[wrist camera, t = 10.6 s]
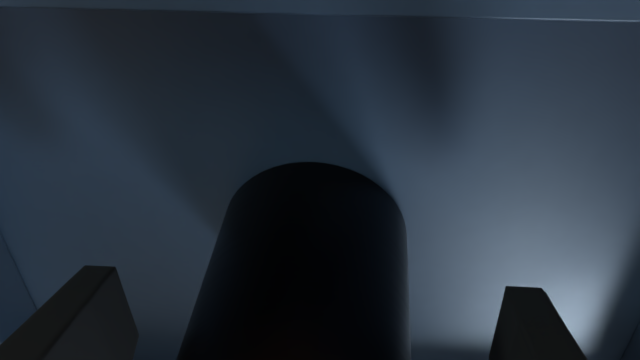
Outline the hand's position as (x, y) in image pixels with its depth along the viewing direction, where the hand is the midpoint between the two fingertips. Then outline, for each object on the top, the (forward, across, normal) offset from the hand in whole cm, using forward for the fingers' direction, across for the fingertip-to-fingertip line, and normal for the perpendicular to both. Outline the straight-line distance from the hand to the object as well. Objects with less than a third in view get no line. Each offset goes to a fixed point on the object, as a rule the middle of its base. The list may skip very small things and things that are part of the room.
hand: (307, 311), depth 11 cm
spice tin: (+2, 0, 0) cm, 2 cm away
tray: (+3, 0, 0) cm, 3 cm away
